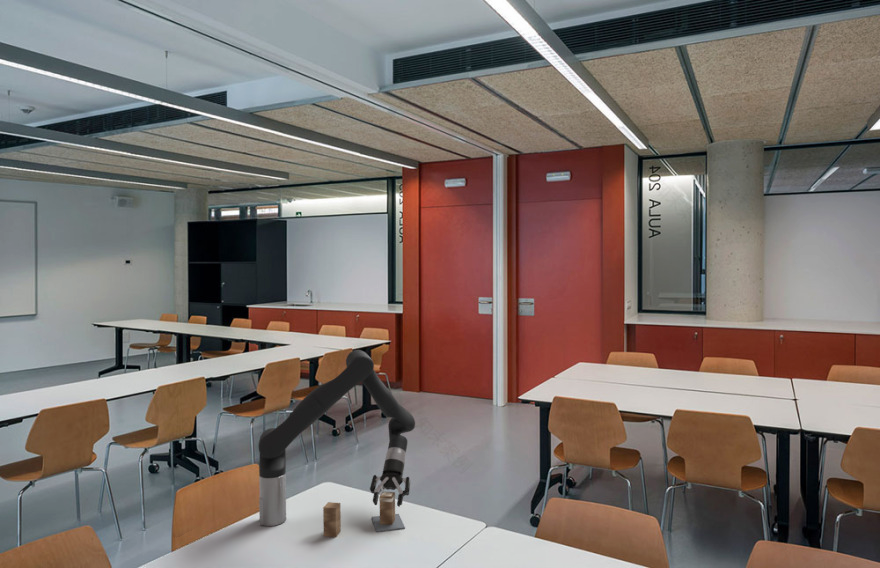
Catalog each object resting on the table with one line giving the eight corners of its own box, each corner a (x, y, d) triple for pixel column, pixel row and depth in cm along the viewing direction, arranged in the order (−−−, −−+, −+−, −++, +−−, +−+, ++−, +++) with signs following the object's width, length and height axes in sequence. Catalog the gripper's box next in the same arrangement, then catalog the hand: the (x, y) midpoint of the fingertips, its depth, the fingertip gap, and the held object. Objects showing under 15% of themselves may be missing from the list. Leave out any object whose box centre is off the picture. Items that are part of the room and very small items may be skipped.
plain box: (323, 536, 198) (323, 507, 198) (328, 530, 202) (328, 502, 202) (336, 537, 197) (335, 508, 197) (340, 531, 201) (340, 503, 201)
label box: (379, 524, 206) (379, 495, 206) (383, 518, 210) (382, 490, 210) (392, 525, 205) (391, 496, 205) (395, 519, 209) (395, 491, 209)
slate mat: (376, 532, 201) (376, 530, 200) (371, 518, 212) (371, 516, 212) (405, 528, 203) (405, 527, 203) (398, 515, 215) (398, 513, 215)
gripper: (374, 457, 216) (365, 499, 205) (411, 458, 213) (404, 501, 202) (378, 466, 221) (369, 508, 210) (414, 468, 219) (408, 510, 208)
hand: (386, 505), depth 206 cm, fingers open, 8 cm apart
